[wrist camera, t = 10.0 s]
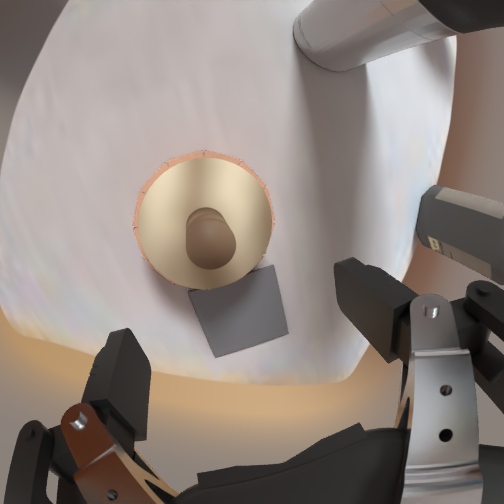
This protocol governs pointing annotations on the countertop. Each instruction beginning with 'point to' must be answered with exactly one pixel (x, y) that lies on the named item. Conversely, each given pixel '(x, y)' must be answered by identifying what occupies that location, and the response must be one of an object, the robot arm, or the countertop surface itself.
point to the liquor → (464, 229)
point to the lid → (205, 223)
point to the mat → (241, 312)
